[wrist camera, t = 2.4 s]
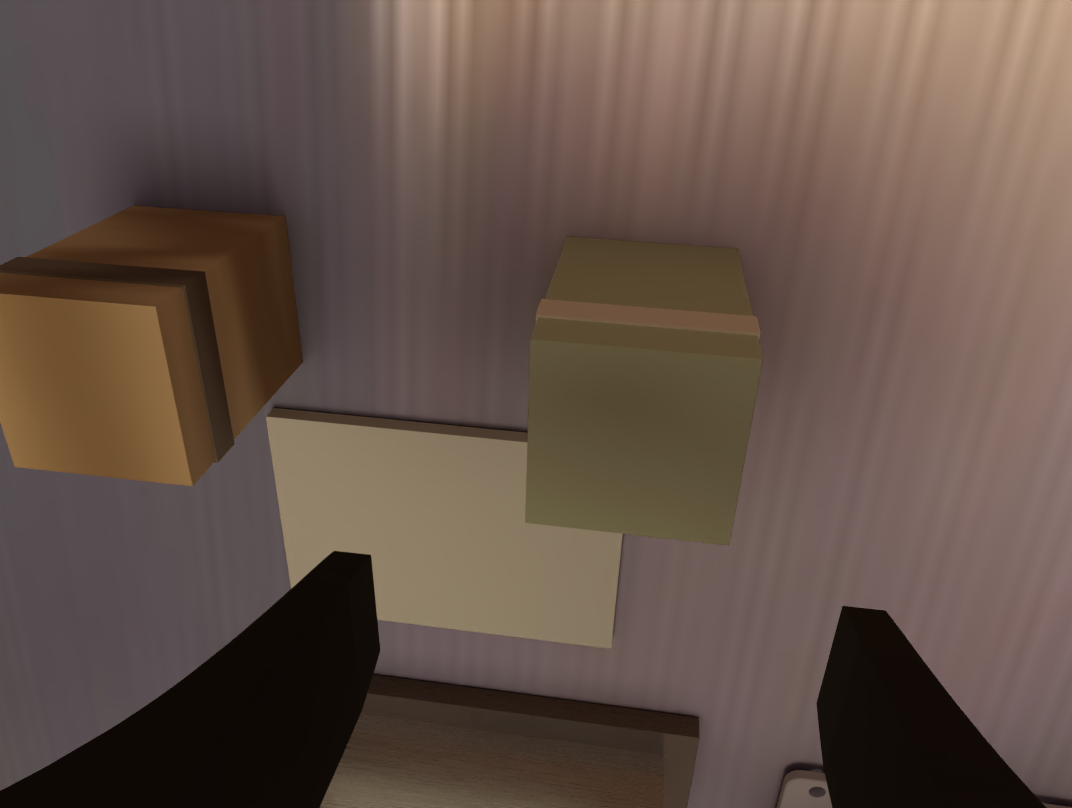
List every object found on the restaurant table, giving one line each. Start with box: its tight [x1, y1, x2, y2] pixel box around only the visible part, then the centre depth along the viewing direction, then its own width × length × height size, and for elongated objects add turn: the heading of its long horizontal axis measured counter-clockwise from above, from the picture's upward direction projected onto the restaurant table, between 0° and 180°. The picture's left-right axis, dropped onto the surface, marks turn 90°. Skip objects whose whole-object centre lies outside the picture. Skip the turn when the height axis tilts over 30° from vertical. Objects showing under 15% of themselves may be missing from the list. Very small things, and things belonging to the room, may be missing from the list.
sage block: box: [525, 237, 763, 545], centre depth 18 cm, size 4×4×6 cm
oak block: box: [0, 206, 303, 486], centre depth 19 cm, size 4×4×6 cm
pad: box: [266, 408, 623, 649], centre depth 24 cm, size 10×7×1 cm
